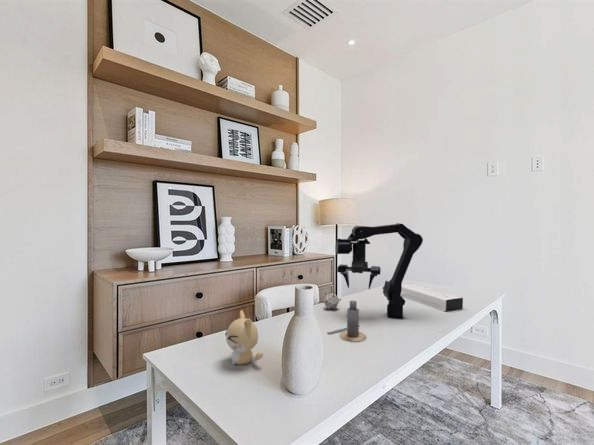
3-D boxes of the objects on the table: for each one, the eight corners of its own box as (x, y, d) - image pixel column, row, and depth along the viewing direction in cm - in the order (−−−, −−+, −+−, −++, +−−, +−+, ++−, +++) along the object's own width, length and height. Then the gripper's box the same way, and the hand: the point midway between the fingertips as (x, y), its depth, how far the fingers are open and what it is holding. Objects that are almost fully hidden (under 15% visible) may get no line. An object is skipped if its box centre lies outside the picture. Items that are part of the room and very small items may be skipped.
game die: (334, 317, 154) (340, 304, 148) (318, 310, 155) (323, 297, 149) (338, 304, 161) (344, 291, 155) (323, 297, 162) (328, 284, 156)
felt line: (357, 325, 132) (357, 324, 132) (359, 326, 131) (359, 325, 131) (327, 333, 124) (327, 332, 124) (329, 334, 122) (329, 333, 122)
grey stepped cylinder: (356, 332, 123) (356, 299, 123) (360, 337, 119) (360, 303, 118) (345, 333, 123) (345, 300, 122) (348, 338, 118) (349, 303, 118)
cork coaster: (367, 333, 124) (367, 332, 124) (365, 343, 114) (365, 342, 114) (341, 330, 127) (341, 329, 127) (337, 340, 117) (337, 338, 117)
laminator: (462, 310, 155) (463, 297, 155) (444, 313, 150) (444, 300, 150) (411, 293, 186) (411, 283, 186) (395, 295, 181) (395, 285, 181)
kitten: (221, 354, 105) (221, 309, 105) (250, 349, 109) (250, 306, 109) (231, 375, 92) (230, 324, 91) (264, 368, 96) (264, 319, 95)
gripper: (335, 255, 137) (335, 291, 138) (379, 257, 132) (379, 294, 132) (339, 252, 148) (339, 285, 148) (380, 253, 143) (380, 288, 143)
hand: (358, 288), depth 143 cm, fingers open, 9 cm apart
